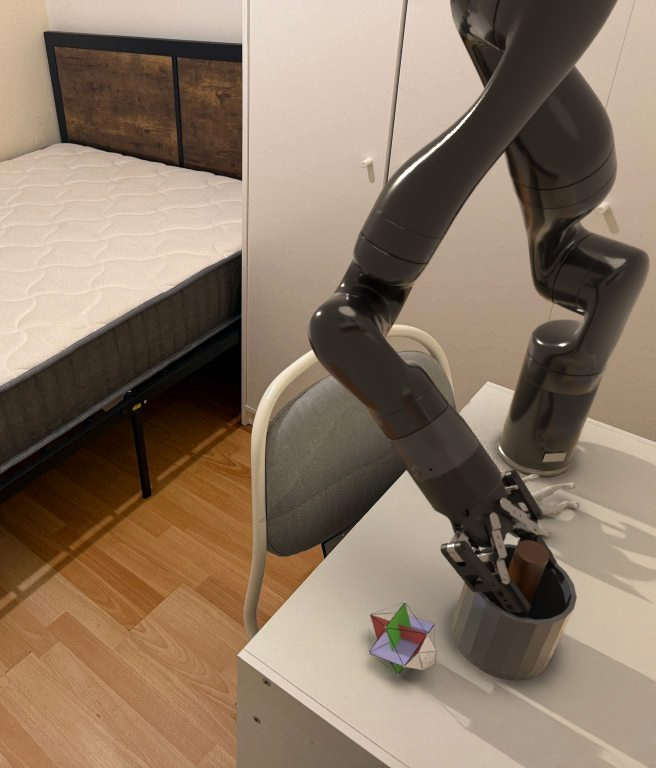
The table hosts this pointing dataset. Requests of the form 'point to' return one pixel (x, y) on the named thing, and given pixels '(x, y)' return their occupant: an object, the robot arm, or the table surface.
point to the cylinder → (527, 568)
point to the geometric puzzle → (404, 640)
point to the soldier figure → (548, 492)
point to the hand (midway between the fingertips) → (535, 588)
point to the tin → (514, 625)
